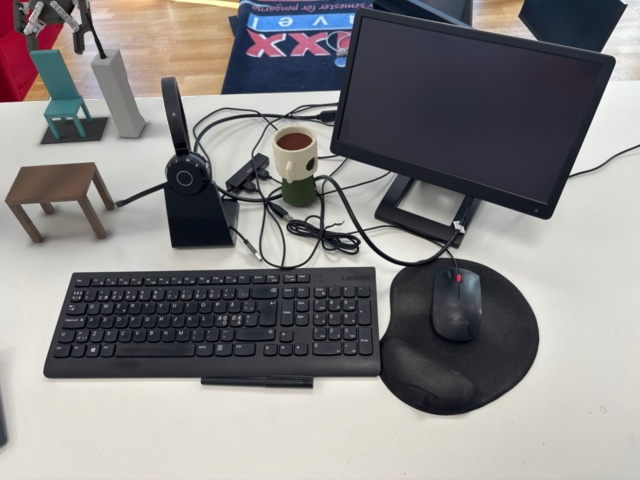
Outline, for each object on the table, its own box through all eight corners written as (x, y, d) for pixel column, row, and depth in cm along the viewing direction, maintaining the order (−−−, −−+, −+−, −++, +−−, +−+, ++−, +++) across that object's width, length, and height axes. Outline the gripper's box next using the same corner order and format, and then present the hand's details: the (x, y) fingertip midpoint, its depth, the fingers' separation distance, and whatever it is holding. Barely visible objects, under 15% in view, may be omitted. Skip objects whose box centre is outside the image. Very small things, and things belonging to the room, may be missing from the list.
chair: (92, 119, 109) (61, 48, 97) (85, 137, 105) (51, 66, 93) (64, 121, 109) (28, 50, 97) (56, 139, 105) (18, 68, 93)
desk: (33, 243, 87) (4, 200, 80) (47, 209, 92) (21, 166, 85) (105, 238, 87) (82, 195, 80) (115, 204, 92) (94, 161, 85)
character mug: (313, 221, 88) (309, 162, 78) (273, 216, 89) (264, 158, 79) (324, 177, 95) (322, 118, 85) (287, 174, 96) (280, 115, 86)
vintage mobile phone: (146, 123, 108) (103, 3, 89) (138, 138, 105) (92, 17, 86) (129, 123, 108) (82, 3, 89) (120, 138, 105) (70, 17, 86)
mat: (40, 144, 105) (40, 143, 105) (51, 121, 110) (51, 120, 110) (100, 140, 105) (99, 139, 105) (108, 118, 110) (107, 116, 110)
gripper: (-1, -38, 96) (9, 52, 97) (76, -43, 96) (84, 47, 97) (22, -21, 104) (31, 62, 105) (93, -25, 104) (101, 58, 105)
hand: (57, 55), depth 101 cm, fingers open, 8 cm apart
